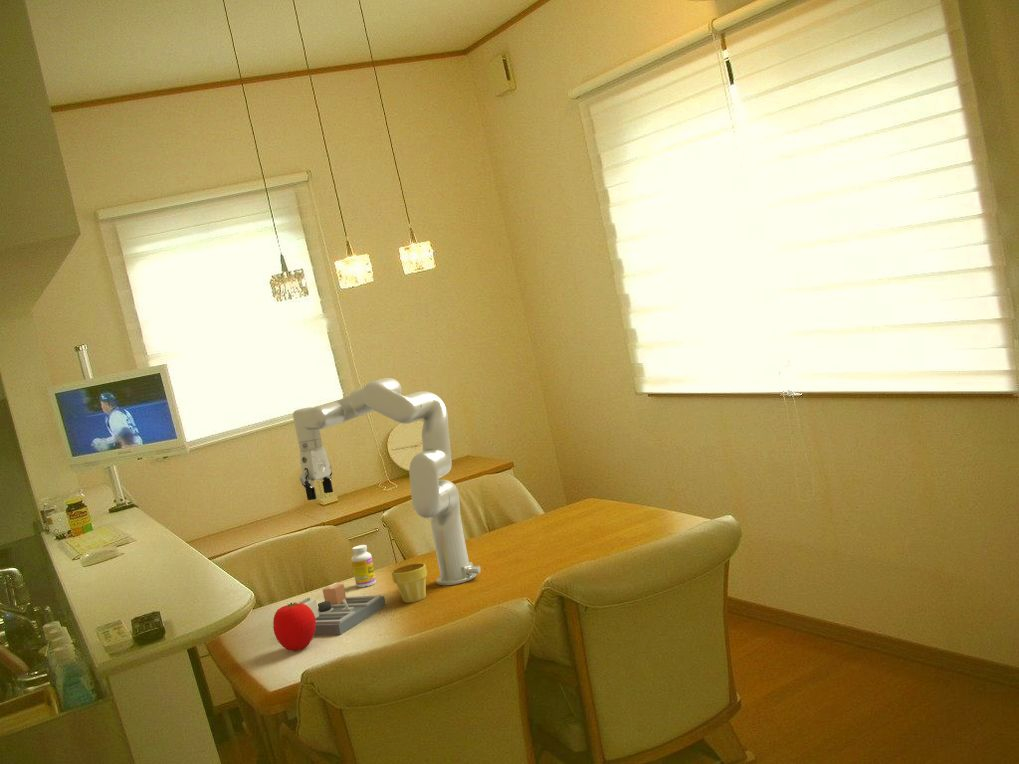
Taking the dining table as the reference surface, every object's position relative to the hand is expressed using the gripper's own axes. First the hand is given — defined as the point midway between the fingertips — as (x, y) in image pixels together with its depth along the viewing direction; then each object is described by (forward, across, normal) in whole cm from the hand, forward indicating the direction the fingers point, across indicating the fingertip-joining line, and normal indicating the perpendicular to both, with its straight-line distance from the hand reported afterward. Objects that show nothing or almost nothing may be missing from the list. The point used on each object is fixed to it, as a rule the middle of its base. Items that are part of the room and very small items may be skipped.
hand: (320, 496), depth 335 cm
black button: (+27, -35, -19) cm, 48 cm away
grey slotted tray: (+31, -35, -23) cm, 52 cm away
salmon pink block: (+28, -28, -18) cm, 43 cm away
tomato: (+31, -57, -24) cm, 69 cm away
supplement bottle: (+31, 0, -11) cm, 33 cm away
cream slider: (+28, -42, -18) cm, 53 cm away
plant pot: (+31, -18, -39) cm, 53 cm away
